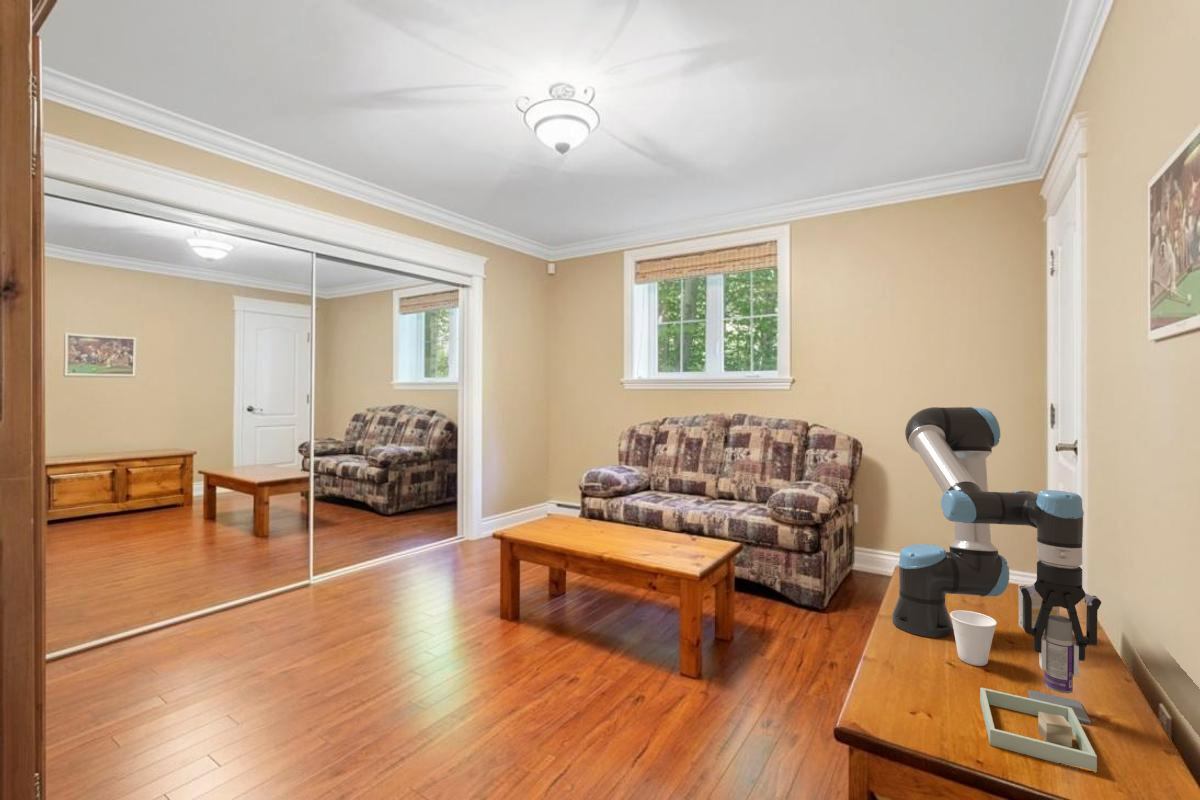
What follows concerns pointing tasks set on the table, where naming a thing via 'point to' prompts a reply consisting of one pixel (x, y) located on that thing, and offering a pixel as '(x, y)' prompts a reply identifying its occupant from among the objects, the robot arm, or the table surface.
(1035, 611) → the supplement box
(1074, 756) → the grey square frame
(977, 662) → the cup
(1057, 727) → the maple block
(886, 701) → the table surface
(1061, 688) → the container
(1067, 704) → the pad
